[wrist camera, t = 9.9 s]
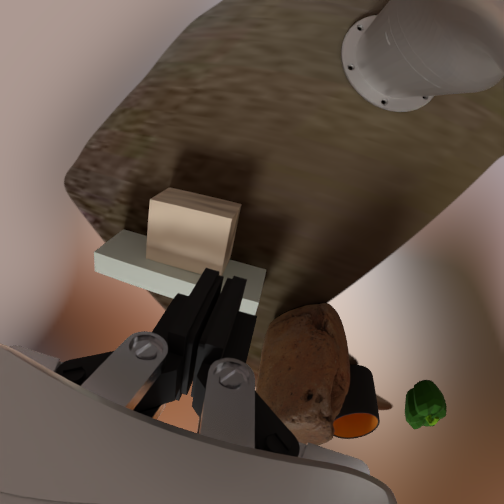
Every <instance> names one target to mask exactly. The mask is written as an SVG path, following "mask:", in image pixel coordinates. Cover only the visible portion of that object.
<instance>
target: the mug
mask: <svg viewBox="0 0 504 504" xmlns="http://www.w3.org/2000/svg"><path fill="white" fill-rule="evenodd" d="M378 425H379V413H378V406H377V399H376V393H375V387H374V381H373V375H372V373H371V371H370V370H369V369H368V368H366V367H364V366H360V365H350V385H349V390H348V393H347V394H346V396H345V400H344V402H343V404H342V408H341V410H340V412H339V414H338V415H337V416H336V418H335V420H334V423H333V426H334V429H335V432H334V435H333V436H335V437H338V438H344V439H351V438H358V437H362V436H365V435H367V434H369V433H371V432H373V431H374V430H375V429H376V428H377V427H378Z"/></svg>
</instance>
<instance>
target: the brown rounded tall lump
mask: <svg viewBox="0 0 504 504" xmlns="http://www.w3.org/2000/svg"><path fill="white" fill-rule="evenodd" d="M349 385H350V362H349V354H348V346H347V340H346V335H345V332H344V328H343V325H342V322H341V319H340V317H339V315H338V313H337V312H336V311H335V309H334V308H333V307H332V306H331V305H330V304H328V303H322V304H314V305H306V306H303V307H300V308H297V309H294V310H290V311H288V312H286V313H284V314H282V315H281V316H279V317H277V318H275V319H274V320H273V321H272V322H271V323H270V324H269V327H268V330H267V333H266V336H265V339H264V344H263V348H262V353H261V363H260V368H259V373H258V379H257V387H256V392H257V393H258V395H259V396H260V397H261V398H262V399H263V400H264V402H265V403H266V404H267V405H268V406H269V407H270V409H271V410H272V411H273V412H274V413H275V414H276V415H277V416H278V418H279V419H280V420H281V421H282V422H283V423H284V424H285V425H286V427H287V428H288V429H289V430H290V431H291V432H292V433H293V434H294V435H295V437H296V438H297V440H298V442H301V443H304V444H307V443H308V442H309V443H312V444H315V445H317V446H318V445H320V444H323V443H326V442H328V441H329V440H331V439H332V438H333V435H334V432H335V429H334V426H333V423H334V420H335V418H336V416H337V415H338V414H339V412H340V410H341V408H342V404H343V402H344V400H345V396H346V394H347V393H348V390H349Z"/></svg>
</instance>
